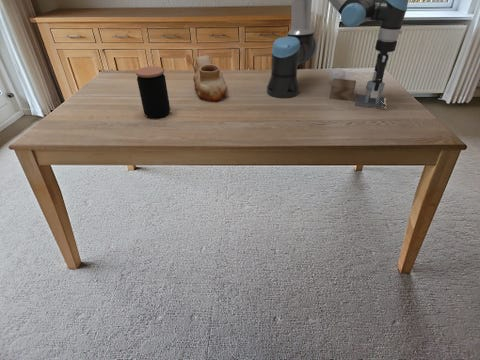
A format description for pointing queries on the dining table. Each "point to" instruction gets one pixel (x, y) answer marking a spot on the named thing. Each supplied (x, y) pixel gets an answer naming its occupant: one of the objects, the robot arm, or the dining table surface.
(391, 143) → the dining table surface
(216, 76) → the ceramic vessel
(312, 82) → the dining table surface
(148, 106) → the coffee jar
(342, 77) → the geometric ball
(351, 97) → the pedestal
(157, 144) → the dining table surface
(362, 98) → the mat
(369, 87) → the stool
